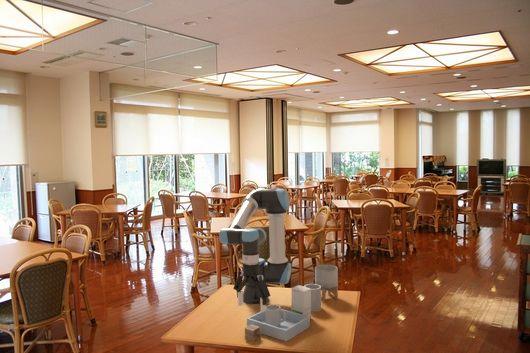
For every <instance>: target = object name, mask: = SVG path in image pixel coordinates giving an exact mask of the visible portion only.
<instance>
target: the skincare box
mask: <svg viewBox="0 0 530 353" xmlns="http://www.w3.org/2000/svg"><path fill="white" fill-rule="evenodd" d="M304 286H305V285H304ZM304 286H303V285H299V284H298V285H296V286H293V287H292V288H291V310H290V312H294V313H298V314H301V315H305V316H309V317H310V318H312V317H311V316H312V315H311V313H312V311H311V289H310V288H307V287H304Z"/></svg>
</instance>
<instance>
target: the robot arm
mask: <svg viewBox="0 0 530 353" xmlns="http://www.w3.org/2000/svg"><path fill="white" fill-rule="evenodd" d="M240 205H241V206H240V207H239V209H238V210H237V212H236V214H235V216H234V217H233V219H232V221H231V223H230V224H229V226H228V227H227V228H221V229H220V230H219V234H218V238H219V239H218V240H219V242H220V243H221V244H223V245H238V246H242V247H241V248H242V249H241V250H242V254H241V255H242V270H240V271H238V272H237V274H238V275H237V277H236V280H235V283H234V285H233V290H234V291H236V295H237V296H236V298H237V306H238V307H240V306H244V303H245V304H251V305H258V304H259V305H260V312H261V313H262V312H264V311H266V306H267V302H268V301H269V297H271V292H270V290H269V287H268V285H267V284H278V285H286V284H287V283H289V281H290V278H291V273H292V263H290V262H289V259H288V258H287V257H286V241H285V240H286V239H285V237H286V236H285V234H286V233H285V216H286V214H287V211H288V210H289V209H290V206H291V201H290V196H289V192H288V190H286V189H284V188H280V187H279V188H256V189H254V190H252V191H251V192H249V193H247V194H246V195H245V196H244V197H243V199H242V200H241V204H240ZM258 210H265V214H266V215H268V232H269V234H268V235H269V237H268V238H269V258H268V259H267V261H266V260H265V258H261V257H260V253H259V252H260V249H259V247H260V246H261V245H263V243H264V242H266V240H267V233H266V231H265V230H264V229H263V228H246V227H247V225H248V223H249V222H250V220H251V219H252V217H253V215H254V213H255V212H257V211H258ZM243 289H244V290H243Z"/></svg>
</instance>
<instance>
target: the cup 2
mask: <svg viewBox="0 0 530 353" xmlns="http://www.w3.org/2000/svg"><path fill="white" fill-rule="evenodd" d="M304 287H307V288H310V289H311V312H319V311H321V310H322V291H321V286H320V285H317V284H315V283H309V284H308V283H307V284H304ZM320 309H321V310H320ZM318 310H319V311H318Z"/></svg>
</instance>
